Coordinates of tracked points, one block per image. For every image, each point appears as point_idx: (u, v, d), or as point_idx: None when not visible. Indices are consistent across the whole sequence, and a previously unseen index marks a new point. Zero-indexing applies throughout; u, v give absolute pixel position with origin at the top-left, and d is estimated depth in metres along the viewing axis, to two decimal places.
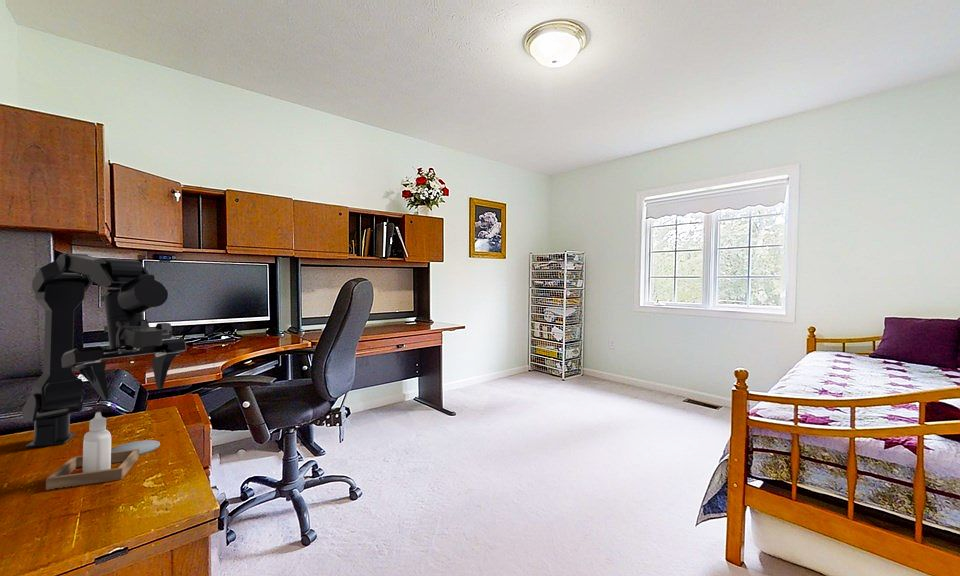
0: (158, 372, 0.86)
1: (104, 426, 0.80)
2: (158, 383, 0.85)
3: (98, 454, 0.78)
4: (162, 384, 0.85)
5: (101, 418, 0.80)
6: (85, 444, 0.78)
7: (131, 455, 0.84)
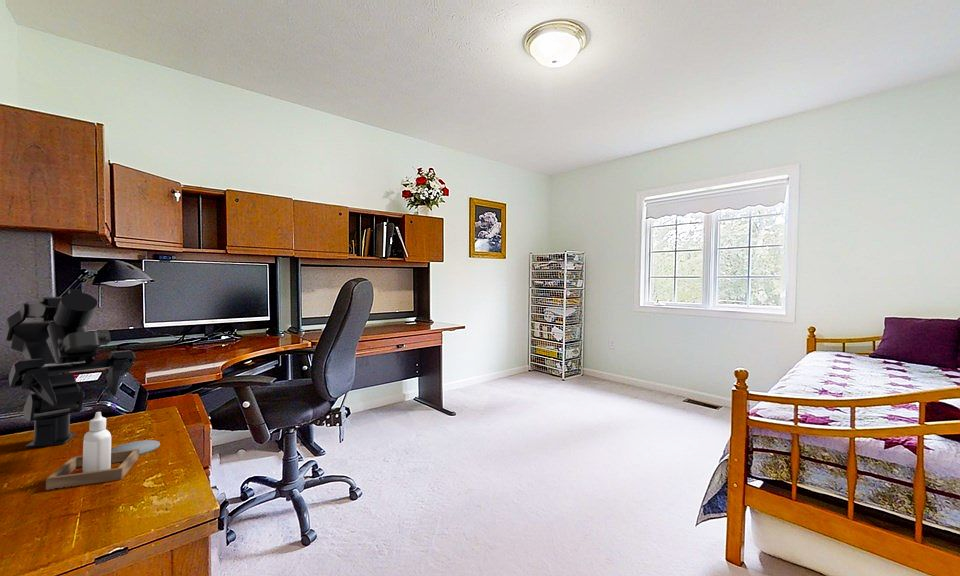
0: (111, 381, 0.89)
1: (104, 426, 0.80)
2: (111, 390, 0.88)
3: (98, 454, 0.78)
4: (115, 389, 0.88)
5: (101, 418, 0.80)
6: (85, 444, 0.78)
7: (131, 455, 0.84)
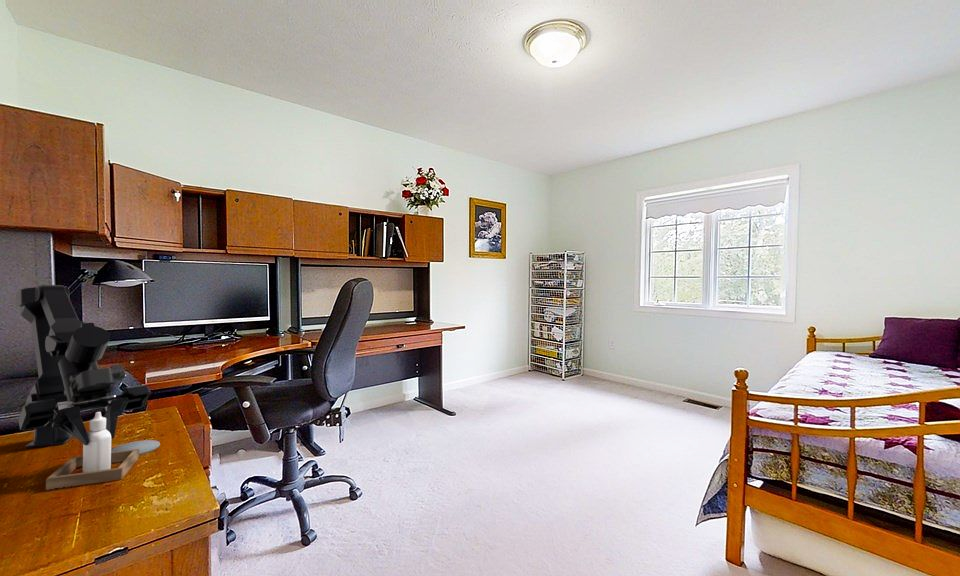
0: (108, 423, 0.82)
1: (104, 426, 0.80)
2: None
3: (98, 454, 0.78)
4: (113, 432, 0.81)
5: (101, 417, 0.80)
6: None
7: (131, 455, 0.84)
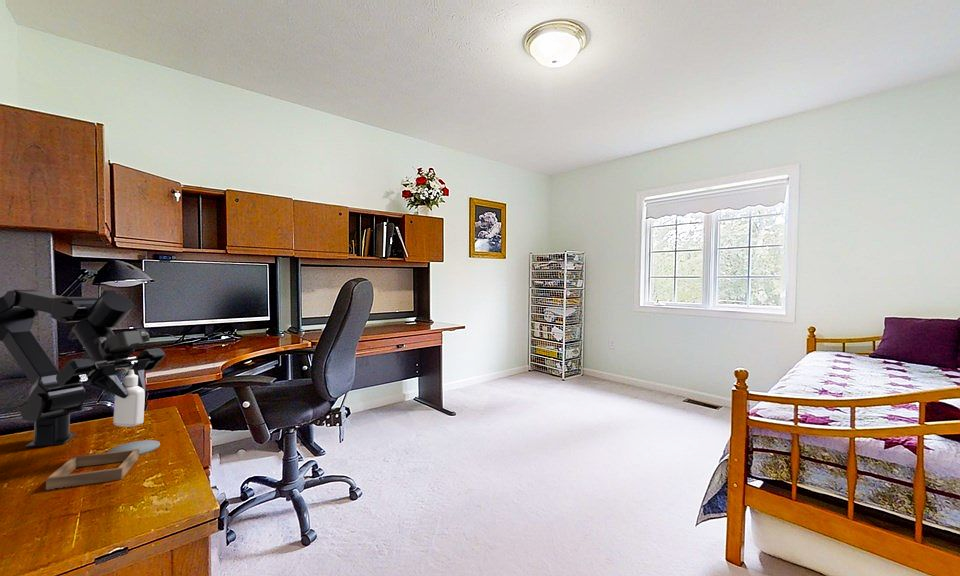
0: None
1: (137, 382, 0.90)
2: None
3: (136, 406, 0.88)
4: (144, 387, 0.91)
5: (134, 374, 0.89)
6: (121, 398, 0.87)
7: (131, 455, 0.84)
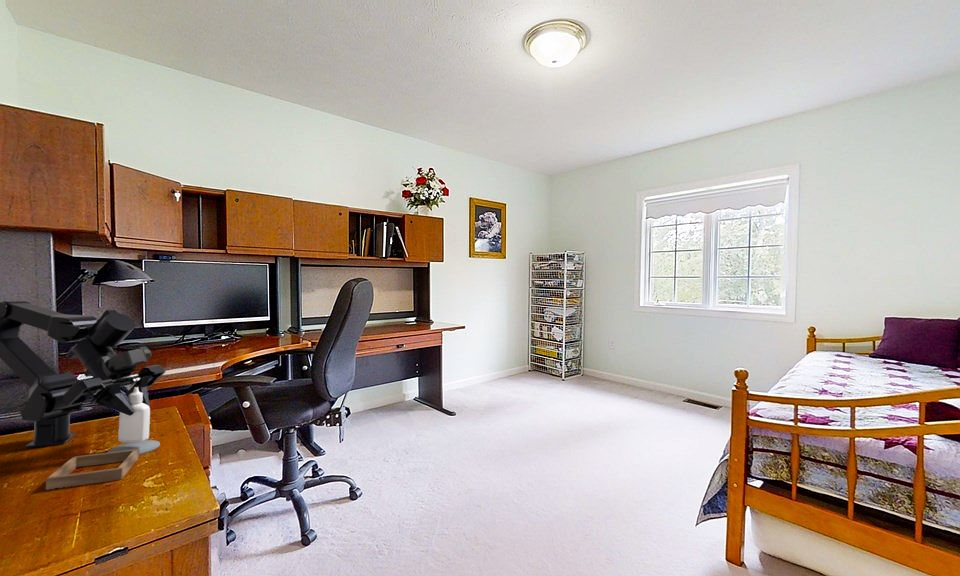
0: None
1: (142, 399, 0.92)
2: None
3: (142, 422, 0.90)
4: (148, 404, 0.93)
5: (139, 392, 0.92)
6: (127, 415, 0.90)
7: (131, 455, 0.84)
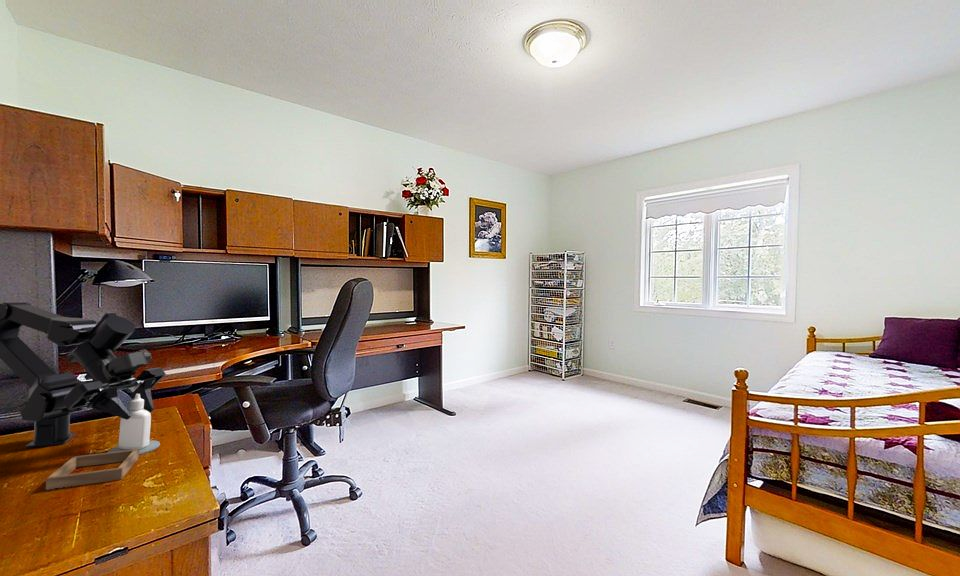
0: None
1: (143, 406, 0.92)
2: (148, 407, 0.94)
3: (143, 429, 0.91)
4: (152, 405, 0.94)
5: None
6: (128, 422, 0.90)
7: (131, 455, 0.84)
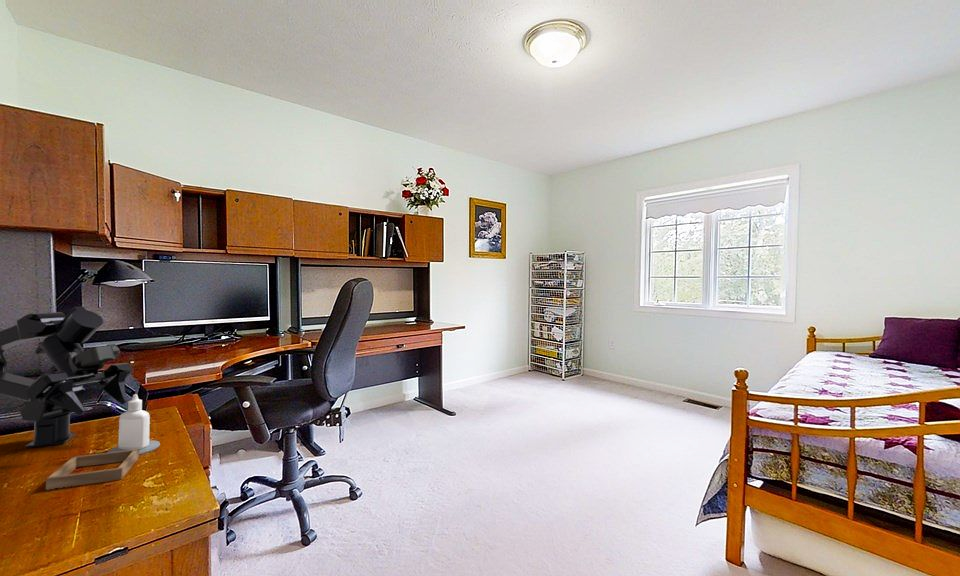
0: (117, 391, 0.97)
1: (141, 406, 0.92)
2: (120, 399, 0.97)
3: (142, 429, 0.90)
4: (125, 398, 0.97)
5: (138, 399, 0.92)
6: (126, 422, 0.90)
7: (131, 455, 0.84)
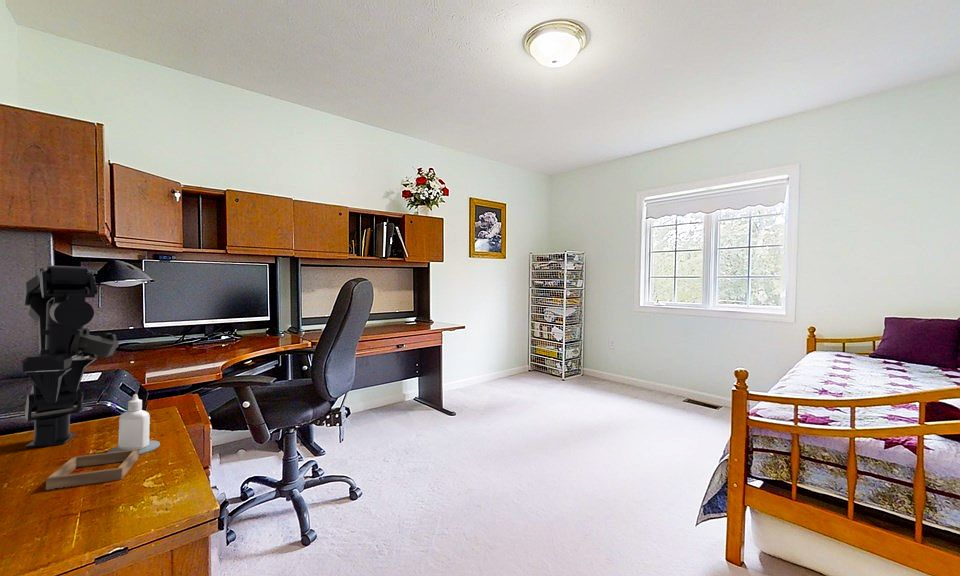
0: (74, 376, 0.91)
1: (141, 406, 0.92)
2: (72, 386, 0.90)
3: (142, 429, 0.90)
4: (77, 387, 0.91)
5: (138, 399, 0.92)
6: (126, 422, 0.90)
7: (131, 455, 0.84)
